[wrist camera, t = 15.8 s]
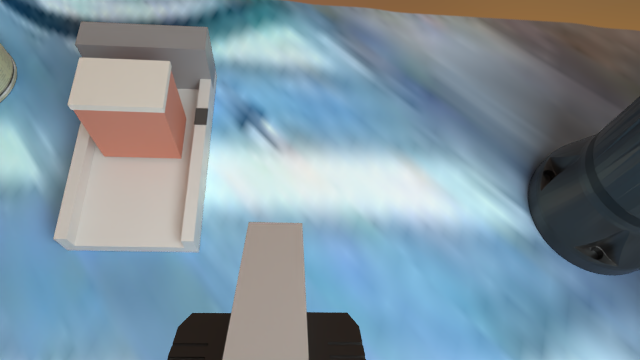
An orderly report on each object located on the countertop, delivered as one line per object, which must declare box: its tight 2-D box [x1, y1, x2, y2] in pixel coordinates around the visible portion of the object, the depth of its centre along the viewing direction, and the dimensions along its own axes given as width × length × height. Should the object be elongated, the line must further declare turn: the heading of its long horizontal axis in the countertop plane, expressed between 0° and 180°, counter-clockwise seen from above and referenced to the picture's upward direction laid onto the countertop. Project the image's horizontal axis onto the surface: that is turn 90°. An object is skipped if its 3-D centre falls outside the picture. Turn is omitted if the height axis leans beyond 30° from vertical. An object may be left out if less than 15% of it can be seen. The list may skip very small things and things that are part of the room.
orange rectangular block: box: [68, 57, 186, 159], centre depth 50 cm, size 5×8×10 cm, turn 90°
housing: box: [53, 22, 217, 252], centre depth 52 cm, size 22×13×8 cm, turn 0°
